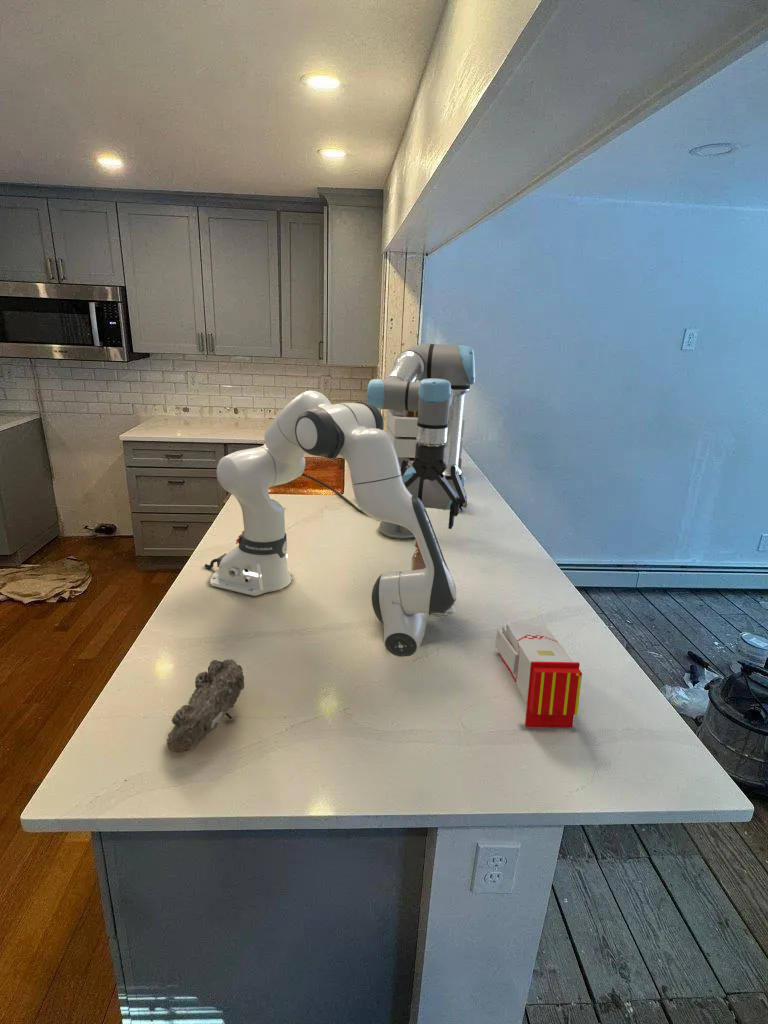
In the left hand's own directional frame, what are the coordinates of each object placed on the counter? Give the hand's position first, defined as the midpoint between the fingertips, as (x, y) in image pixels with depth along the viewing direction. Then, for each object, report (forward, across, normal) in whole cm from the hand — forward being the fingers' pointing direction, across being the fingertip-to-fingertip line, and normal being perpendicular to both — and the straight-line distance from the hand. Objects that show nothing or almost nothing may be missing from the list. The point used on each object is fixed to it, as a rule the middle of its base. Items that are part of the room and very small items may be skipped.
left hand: (418, 584), depth 150 cm
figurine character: (+84, -5, +6) cm, 85 cm away
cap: (+3, 0, -11) cm, 12 cm away
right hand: (+4, 0, -16) cm, 17 cm away
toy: (-28, -28, +6) cm, 40 cm away
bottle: (+3, 0, +6) cm, 7 cm away
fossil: (-53, +32, +6) cm, 62 cm away
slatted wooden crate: (+130, +16, +7) cm, 131 cm away
